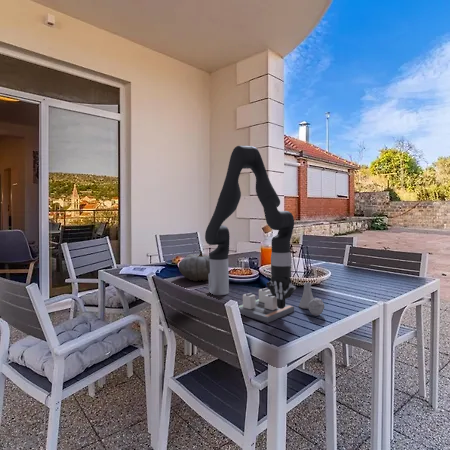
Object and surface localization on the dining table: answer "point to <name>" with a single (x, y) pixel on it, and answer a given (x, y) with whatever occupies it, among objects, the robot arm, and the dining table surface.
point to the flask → (306, 296)
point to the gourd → (195, 267)
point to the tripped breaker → (270, 302)
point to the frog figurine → (316, 306)
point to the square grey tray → (265, 312)
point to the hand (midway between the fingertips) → (281, 308)
